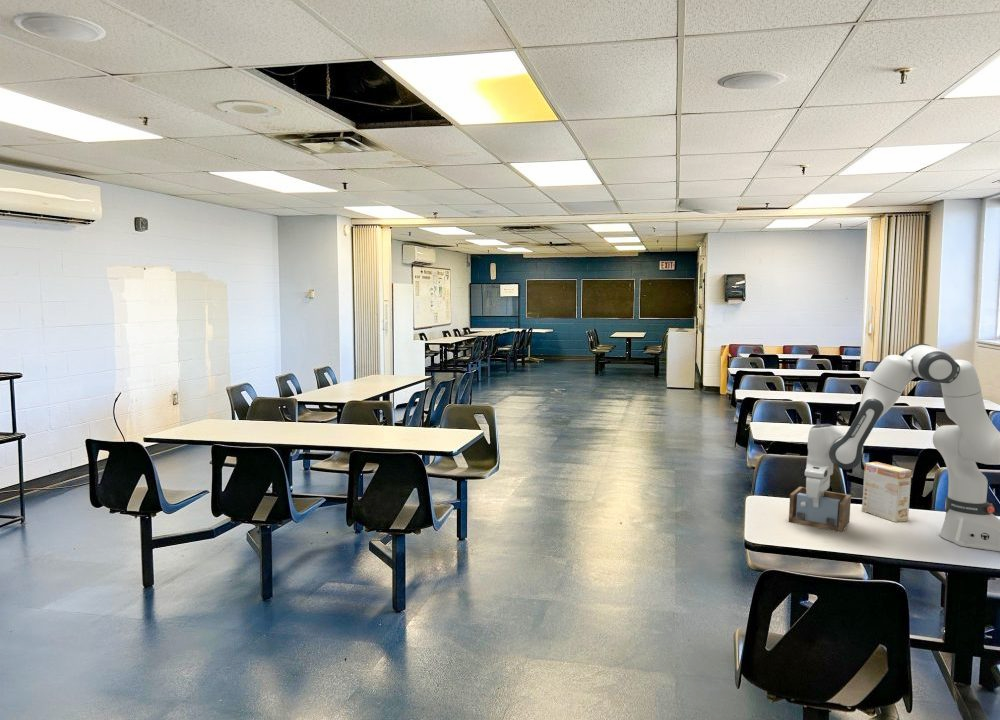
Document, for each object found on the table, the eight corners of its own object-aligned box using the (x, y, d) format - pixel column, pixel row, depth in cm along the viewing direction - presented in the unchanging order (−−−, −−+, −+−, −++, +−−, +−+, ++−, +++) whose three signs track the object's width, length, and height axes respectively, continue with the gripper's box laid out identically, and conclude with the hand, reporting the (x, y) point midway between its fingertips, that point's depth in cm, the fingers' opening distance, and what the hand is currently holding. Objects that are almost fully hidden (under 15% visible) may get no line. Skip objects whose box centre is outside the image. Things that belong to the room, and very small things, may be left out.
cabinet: (849, 522, 254) (850, 495, 253) (841, 532, 243) (843, 503, 242) (798, 513, 265) (799, 486, 264) (788, 521, 254) (790, 494, 253)
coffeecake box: (909, 520, 257) (912, 470, 256) (895, 522, 255) (898, 471, 253) (874, 509, 271) (877, 461, 269) (861, 511, 268) (864, 462, 267)
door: (838, 524, 247) (840, 499, 247) (836, 527, 244) (837, 502, 243) (798, 516, 256) (799, 492, 255) (795, 519, 252) (796, 495, 252)
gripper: (817, 461, 259) (815, 497, 260) (803, 471, 243) (801, 509, 244) (835, 464, 255) (833, 500, 256) (822, 474, 239) (820, 513, 240)
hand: (817, 505), depth 250 cm, fingers open, 4 cm apart
